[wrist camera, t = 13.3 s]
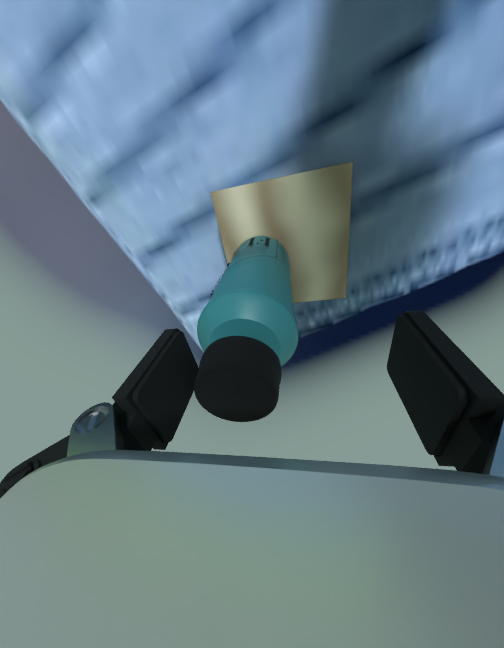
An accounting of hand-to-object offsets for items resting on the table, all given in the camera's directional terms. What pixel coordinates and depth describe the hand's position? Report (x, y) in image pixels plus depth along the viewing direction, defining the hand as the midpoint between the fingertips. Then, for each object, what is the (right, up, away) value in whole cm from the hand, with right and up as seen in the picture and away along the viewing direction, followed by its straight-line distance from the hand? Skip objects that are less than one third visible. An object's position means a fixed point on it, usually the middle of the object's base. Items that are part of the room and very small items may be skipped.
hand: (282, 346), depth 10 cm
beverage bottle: (0, +9, +16) cm, 19 cm away
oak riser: (+3, +12, +19) cm, 23 cm away
